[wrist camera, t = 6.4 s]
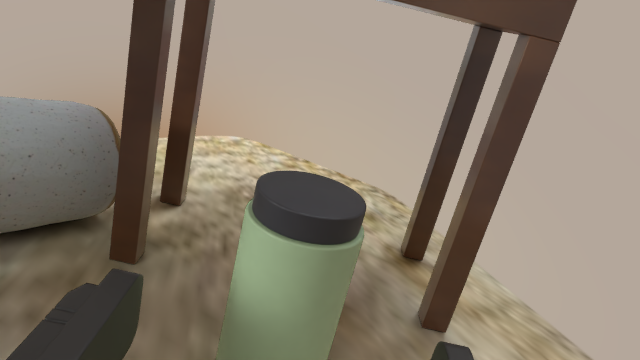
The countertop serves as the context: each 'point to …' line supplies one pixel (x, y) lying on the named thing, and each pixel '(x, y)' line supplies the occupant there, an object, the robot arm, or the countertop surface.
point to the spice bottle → (292, 268)
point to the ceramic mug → (54, 162)
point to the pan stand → (483, 178)
